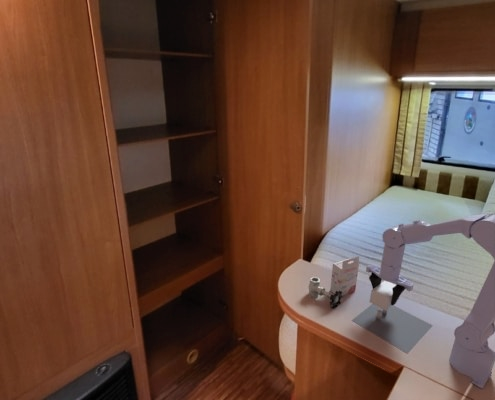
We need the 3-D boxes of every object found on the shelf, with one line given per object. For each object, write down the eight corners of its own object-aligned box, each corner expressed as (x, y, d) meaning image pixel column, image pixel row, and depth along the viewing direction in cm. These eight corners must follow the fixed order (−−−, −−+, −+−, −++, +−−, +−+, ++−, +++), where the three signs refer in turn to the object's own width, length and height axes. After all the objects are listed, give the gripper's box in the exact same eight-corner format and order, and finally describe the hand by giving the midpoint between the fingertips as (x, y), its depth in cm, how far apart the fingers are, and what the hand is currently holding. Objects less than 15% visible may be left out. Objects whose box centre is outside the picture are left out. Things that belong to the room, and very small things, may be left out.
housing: (383, 291, 111) (385, 280, 110) (398, 299, 107) (401, 287, 106) (369, 302, 106) (371, 290, 104) (385, 310, 102) (387, 298, 100)
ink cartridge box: (345, 284, 127) (350, 250, 122) (355, 291, 123) (360, 256, 118) (329, 290, 123) (333, 255, 118) (338, 297, 119) (343, 262, 114)
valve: (303, 295, 119) (330, 312, 111) (304, 280, 117) (332, 296, 109) (314, 289, 124) (341, 304, 115) (316, 273, 121) (344, 288, 113)
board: (432, 327, 105) (434, 318, 103) (406, 356, 93) (408, 346, 92) (379, 300, 117) (380, 292, 116) (351, 322, 106) (352, 313, 105)
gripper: (421, 267, 99) (412, 305, 104) (376, 250, 109) (370, 284, 114) (410, 276, 95) (402, 314, 99) (365, 256, 105) (359, 292, 110)
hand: (384, 299), depth 106 cm, fingers closed on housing, 5 cm apart
